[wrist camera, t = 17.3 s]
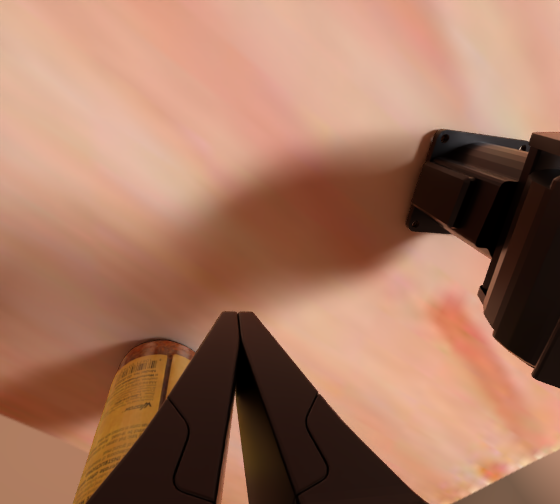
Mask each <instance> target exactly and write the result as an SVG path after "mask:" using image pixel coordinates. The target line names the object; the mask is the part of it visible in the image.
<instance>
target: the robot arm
mask: <svg viewBox="0 0 560 504" xmlns="http://www.w3.org/2000/svg"><path fill="white" fill-rule="evenodd" d="M443 135H445V139H444V140H443V141H442V142H441V137H442V136H443ZM521 146H522V147H521ZM520 147H521V149H520V150H519V148H520ZM415 221H416V224H415V225H413V226H412V224H413V222H415ZM406 227H407V228H408V229H409V230H411V231H415V232H428V233H442V234H453V235H455V236H456V237H458V238H459V239H461V240H462V241H464V242H465V243H467V244H468V245H470V246H471V247H473V248H474V249H476V250H478V251H479V252H481V253H482V254H484V255H485V256H487V257H488V258H490V259H491V263H490V265H489V268H488V271H487V274H486V277H485V280H484V283H483V285H481V286H480V288H479V291H478V294H477V295H478V297H479V299H480V300H481V302H482V304H483V309H484V315H485V317H486V318H487V320H488V322H489V323H490V325H491V327H492V328H493V329H494V331H493V337H494V338H495V339H496V340H497V341H498V342H499V343H500V344H501V345H502V346H503V347H504V348H506V349H507V350H508V351H509V352H510V353H512V354H513V355H515V356H516V357H518V358H519V359H520V360H522V361H523V362H525V363H526V364H527V365H529V366H531V367H533V368H534V370H533V372H532V374H531V375H532V377H533V378H535V379H536V380H538V381H541V382H544V383H546V384H549V385H552V386H555V387H558V388H560V132H534V133H532V135H531V138H530V141H529V142H528V141H524V140H518V139H511V138H504V137H497V136H490V135H483V134H476V133H469V132H462V131H455V130H448V129H440V130H439V131H437V132H436V133H435V135H434V137H433V140H432V143H431V147H430V150H429V153H428V156H427V159H426V162H425V164H424V165H423V167H422V170H421V173H420V177H419V180H418V183H417V186H416V189H415V192H414V195H413V198H412V205H411V208H410V211H409V214H408V217H407V220H406ZM235 395H236V405H237V413H238V421H239V429H240V437H241V445H242V453H243V460H244V468H245V476H246V484H247V492H248V500H249V504H429V503H428V502H426V501H425V500H423V499H422V498H421V497H420V496H418V495H417V494H416V493H415V492H414V491H413V490H412V489H410V488H409V487H408V486H407V485H406V484H405V483H404V482H403V481H402V480H401V479H400V478H399V477H398V476H397V475H396V474H395V473H394V472H393V471H392V470H391V469H390V468H389V467H388V466H387V465H386V464H385V463H384V462H383V461H382V460H381V459H380V458H379V457H378V456H377V455H376V454H375V453H374V452H373V451H372V450H371V449H370V448H369V447H368V446H367V445H366V444H365V443H364V442H363V441H362V440H361V439H360V438H359V437H358V436H357V435H356V434H355V433H354V432H353V431H352V430H351V429H350V428H349V427H348V426H347V425H346V424H345V423H344V422H343V420H342V419H341V418H340V417H339V416H338V415H337V413H336V412H335V411H334V410H333V409H332V408H331V407H330V405H329V404H328V403H327V402H326V401H325V399H324V398H323V397H322V396H321V395H320V394H318V391H317V390H316V389H315V387H314V386H313V385H312V384H311V382H310V381H309V380H308V379H307V378H306V376H305V375H304V374H303V373H302V371H301V370H300V369H299V368H298V367H297V365H296V364H295V363H294V362H293V360H292V359H291V358H290V357H289V356H288V354H287V353H286V352H285V351H284V349H283V348H282V347H281V346H280V345H279V343H278V342H277V341H276V340H275V338H274V337H273V336H272V335H271V334H270V332H269V331H268V330H267V329H266V327H265V326H264V325H263V324H262V323H261V321H260V320H259V319H258V318H257V316H256V315H255V314H254V313H253V312H239V313H238V314H237V312H235V311H223V312H222V313H221V314H220V316H219V317H218V319H217V321H216V322H215V324H214V325H213V327H212V328H211V330H210V331H209V333H208V334H207V336H206V338H205V339H204V341H203V342H202V344H201V345H200V347H199V348H198V350H197V351H196V353H195V355H194V356H193V358H192V359H191V361H190V362H189V364H188V365H187V367H186V368H185V370H184V371H183V373H182V375H181V376H180V378H179V379H178V381H177V382H176V384H175V385H174V387H173V388H172V390H171V392H170V393H169V395H168V396H167V399H166V400H165V401H164V402H163V404H162V405H161V407H160V408H159V410H158V411H157V413H156V414H155V416H154V417H153V419H152V420H151V421H150V423H149V424H148V426H147V427H146V429H145V430H144V432H143V433H142V434H141V435H140V437H139V438H138V439H137V441H136V442H135V443H134V444H133V446H132V447H131V448H130V449H129V451H128V452H127V453H126V455H125V456H124V457H123V458H122V459H121V461H120V462H119V463H118V464H117V465H116V467H115V468H114V469H113V470H112V471H111V473H110V474H109V475H108V476H107V478H106V479H105V480H104V481H103V482H102V484H101V485H100V486H99V487H98V488H97V490H96V491H95V492H94V493H93V494H92V496H91V497H90V498H89V499H88V500H87V502H86V503H85V504H221V500H222V492H223V484H224V476H225V468H226V461H227V453H228V445H229V437H230V429H231V421H232V413H233V405H234V396H235Z"/></svg>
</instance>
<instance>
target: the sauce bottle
mask: <svg viewBox="0 0 560 504" xmlns="http://www.w3.org/2000/svg"><path fill="white" fill-rule="evenodd" d="M194 355H195V352H194V351H192V350H191V349H189V348H188V347H186V346H183V345H181V344H179V343H176V342H173V341H169V340H161V341H160V340H157V341H152V342H148V343H143V344H141V345H139V346H137V347H135V348H133V349H132V350H131V351H129V352H128V354H127V355H126V356H125V357H124V359H123V360H122V362H121V364H120V366H119V368H118V372H117V373H116V375H115V377H114V379H113V381H112V384H111V388H110V391H109V394H108V397H107V400H106V403H105V406H104V409H103V413H102V416H101V419H100V422H99V424H98V427H97V430H96V433H95V436H94V440H93V443H92V446H91V449H90V452H89V456H88V459H87V462H86V465H85V468H84V471H83V474H82V477H81V480H80V483H79V486H78V489H77V492H76V496H75V499H74V501H73V504H85V503H86V502H87V500H88V499H89V498H90V497H91V496H92V494H93V493H94V492H95V491H96V490H97V488H98V487H99V486H100V485H101V484H102V482H103V481H104V480H105V479H106V478H107V476H108V475H109V474H110V473H111V471H112V470H113V469H114V468H115V467H116V465H117V464H118V463H119V462H120V461H121V459H122V458H123V457H124V456H125V455H126V453H127V452H128V451H129V449H130V448H131V447H132V446H133V444H134V443H135V442H136V441H137V439H138V438H139V437H140V435H141V434H142V433H143V432H144V430H145V429H146V427H147V426H148V424H149V423H150V421H151V420H152V419H153V417H154V416H155V414H156V413H157V411H158V410H159V408H160V407H161V405H162V404H163V402H164V401H165V400H166V399H167V396H168V395H169V393H170V392H171V390H172V388H173V387H174V385H175V384H176V382H177V381H178V379H179V378H180V376H181V375H182V373H183V371H184V370H185V368H186V367H187V365H188V364H189V362H190V361H191V359H192V358H193V356H194Z"/></svg>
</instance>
